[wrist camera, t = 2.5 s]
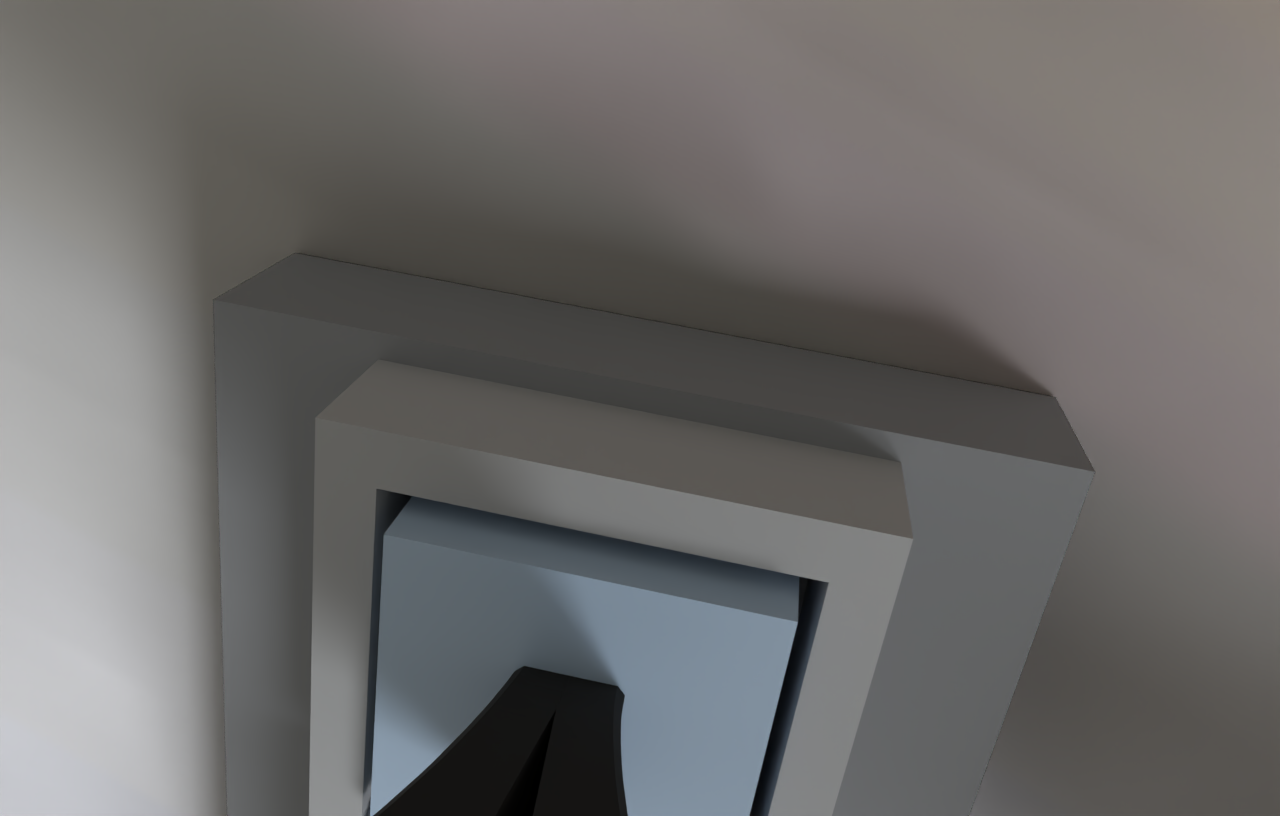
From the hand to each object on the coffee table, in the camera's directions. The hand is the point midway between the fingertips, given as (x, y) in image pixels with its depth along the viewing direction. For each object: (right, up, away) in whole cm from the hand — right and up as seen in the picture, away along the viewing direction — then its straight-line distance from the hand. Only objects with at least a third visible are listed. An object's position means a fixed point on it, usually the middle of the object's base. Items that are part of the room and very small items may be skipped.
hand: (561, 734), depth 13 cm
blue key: (0, +1, +2) cm, 2 cm away
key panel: (0, -5, +8) cm, 9 cm away
